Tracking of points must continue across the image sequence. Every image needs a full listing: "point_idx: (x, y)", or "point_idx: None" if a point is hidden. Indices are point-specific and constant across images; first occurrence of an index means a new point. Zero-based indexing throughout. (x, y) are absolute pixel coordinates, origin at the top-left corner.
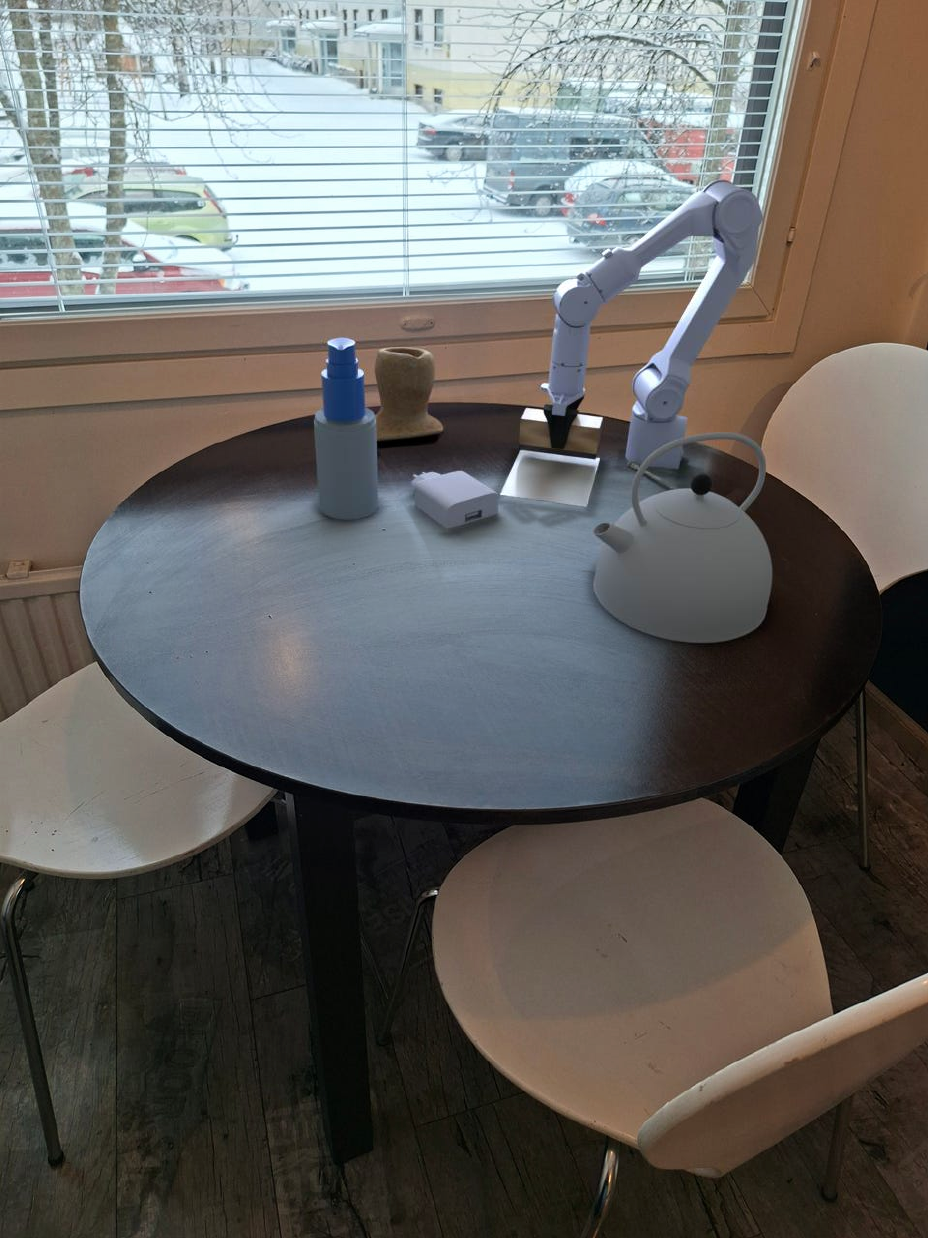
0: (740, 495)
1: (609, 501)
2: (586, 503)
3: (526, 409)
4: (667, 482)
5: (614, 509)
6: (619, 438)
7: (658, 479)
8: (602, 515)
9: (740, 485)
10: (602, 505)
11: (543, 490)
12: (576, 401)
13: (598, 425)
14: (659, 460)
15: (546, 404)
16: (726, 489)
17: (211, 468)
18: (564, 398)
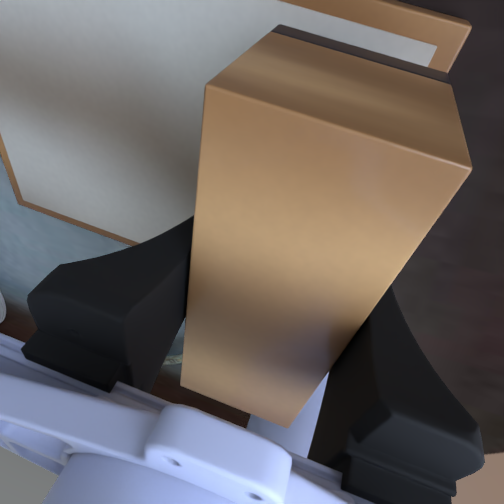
0: (202, 410)
1: (110, 251)
2: (37, 203)
3: (423, 165)
4: (167, 363)
5: (80, 249)
6: (492, 386)
7: (179, 357)
8: (43, 220)
9: (236, 424)
10: (85, 233)
11: (47, 101)
12: (316, 446)
13: (204, 392)
14: None
15: (115, 326)
16: (218, 408)
17: None
18: (1, 438)
